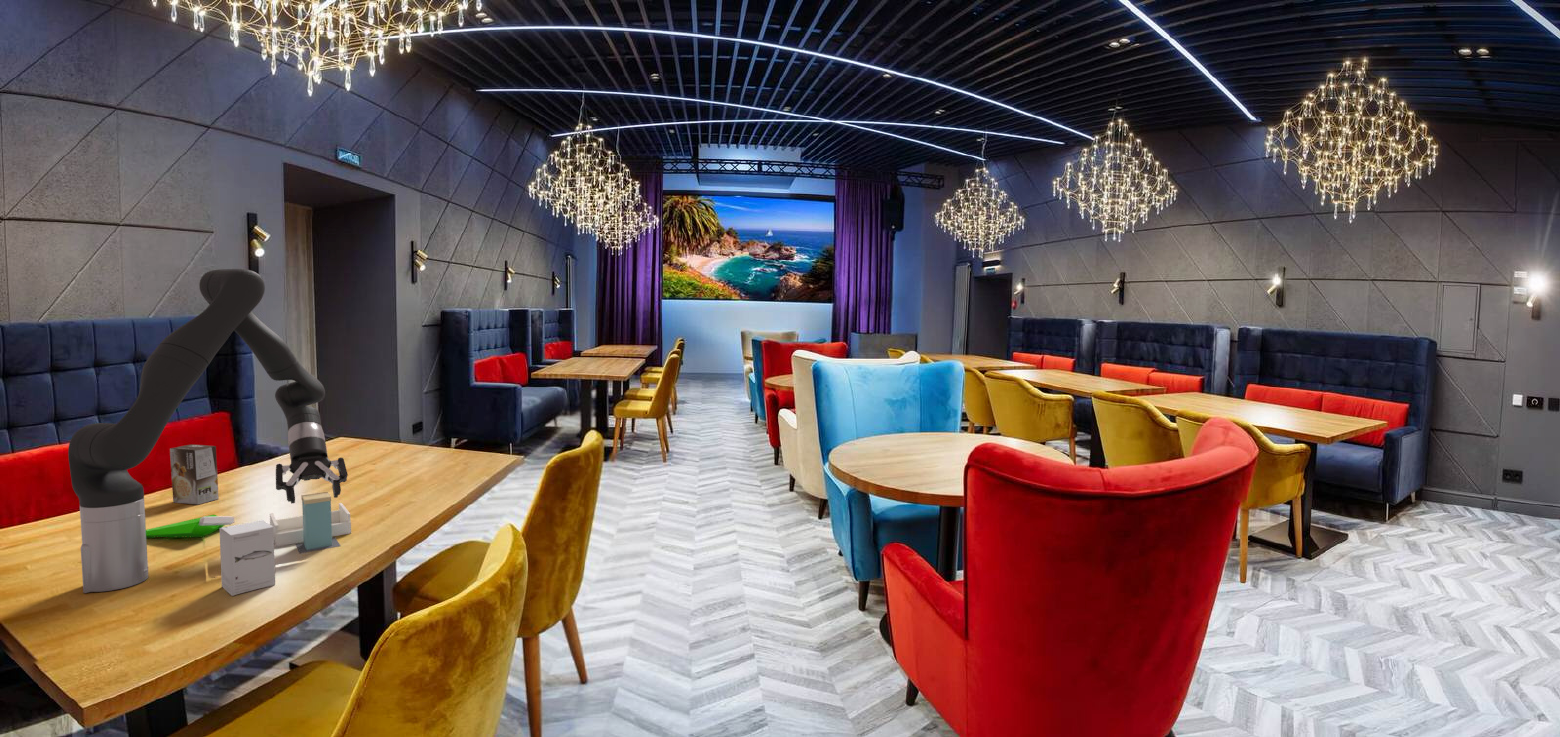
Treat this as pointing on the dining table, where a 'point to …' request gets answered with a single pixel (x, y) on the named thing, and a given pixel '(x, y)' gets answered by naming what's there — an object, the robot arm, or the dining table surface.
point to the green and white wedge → (191, 527)
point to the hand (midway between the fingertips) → (315, 498)
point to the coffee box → (194, 474)
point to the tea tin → (317, 520)
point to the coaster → (302, 548)
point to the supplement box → (247, 557)
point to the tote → (293, 526)
